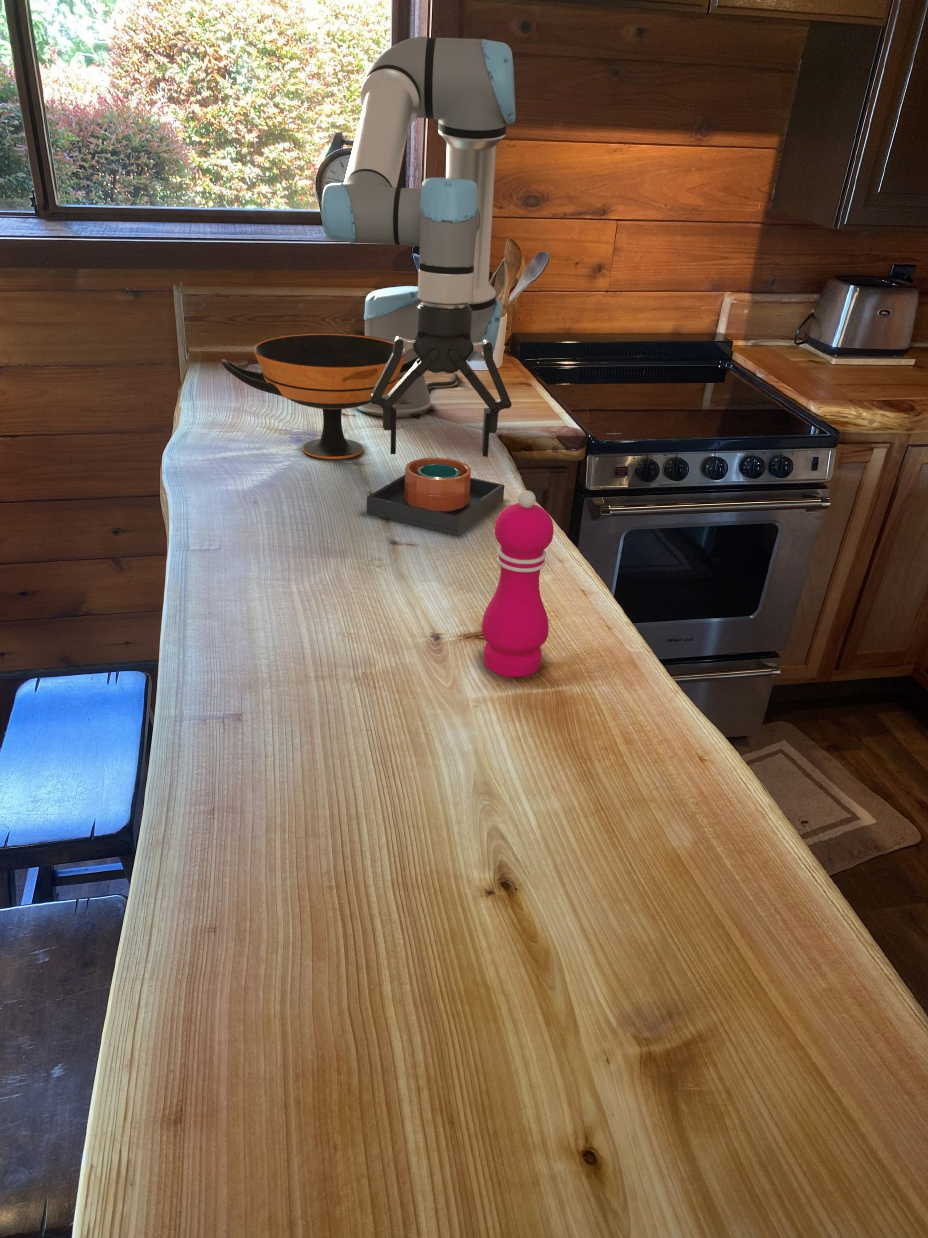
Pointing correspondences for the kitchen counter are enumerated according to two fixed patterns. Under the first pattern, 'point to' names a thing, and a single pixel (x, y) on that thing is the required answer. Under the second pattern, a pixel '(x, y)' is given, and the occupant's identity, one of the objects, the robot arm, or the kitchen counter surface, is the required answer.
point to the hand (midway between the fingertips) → (439, 452)
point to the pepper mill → (518, 590)
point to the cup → (323, 378)
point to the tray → (396, 508)
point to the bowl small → (438, 471)
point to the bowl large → (437, 486)
